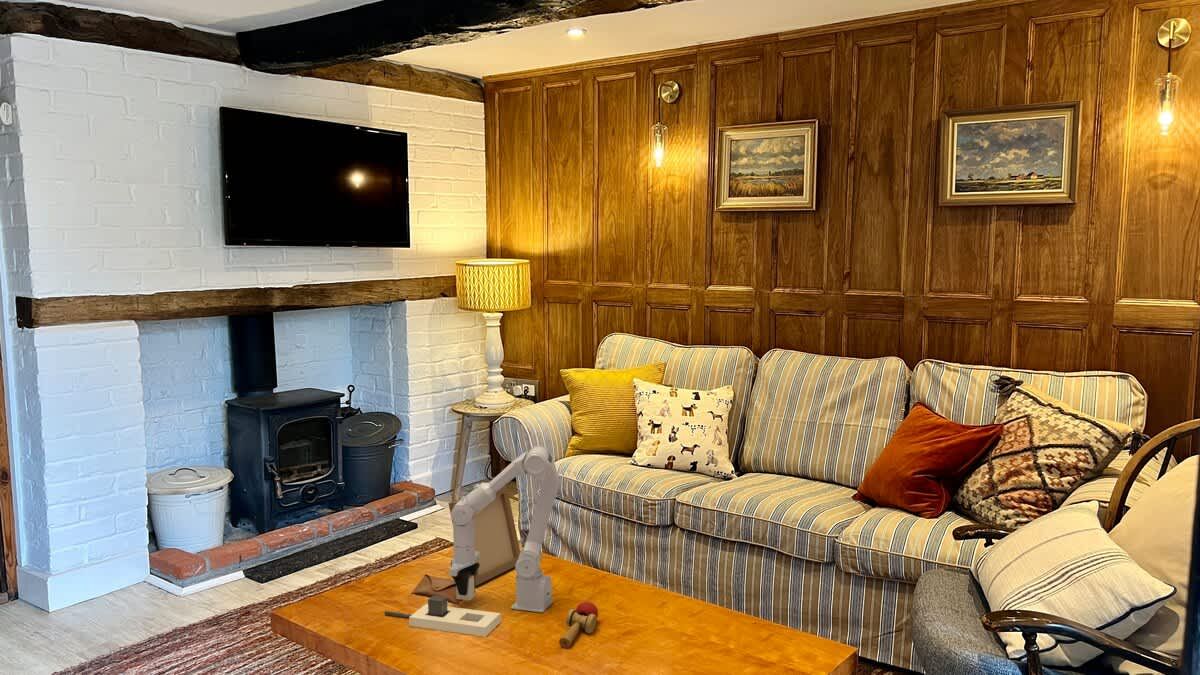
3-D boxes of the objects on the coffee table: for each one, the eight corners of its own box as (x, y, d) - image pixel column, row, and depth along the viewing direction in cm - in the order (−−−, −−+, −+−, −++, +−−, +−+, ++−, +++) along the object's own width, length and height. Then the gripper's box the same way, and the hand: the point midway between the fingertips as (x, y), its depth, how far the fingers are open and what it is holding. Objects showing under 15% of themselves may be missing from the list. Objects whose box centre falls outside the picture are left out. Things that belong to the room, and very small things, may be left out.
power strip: (500, 622, 232) (500, 598, 231) (485, 636, 223) (485, 612, 223) (394, 608, 242) (393, 585, 241) (376, 621, 233) (375, 597, 233)
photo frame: (522, 565, 273) (520, 487, 271) (476, 588, 255) (473, 504, 252) (486, 557, 281) (484, 480, 279) (438, 579, 263) (435, 497, 260)
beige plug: (474, 596, 244) (473, 575, 243) (469, 600, 241) (468, 579, 240) (461, 594, 245) (460, 573, 244) (456, 598, 242) (455, 577, 242)
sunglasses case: (406, 593, 252) (413, 570, 254) (420, 598, 257) (427, 575, 260) (458, 604, 244) (465, 580, 246) (471, 609, 249) (477, 585, 252)
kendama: (582, 656, 215) (607, 617, 232) (576, 632, 214) (601, 595, 231) (554, 656, 218) (580, 618, 235) (548, 633, 217) (575, 596, 234)
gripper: (463, 534, 250) (464, 581, 251) (438, 551, 236) (440, 600, 237) (485, 537, 247) (487, 583, 249) (461, 554, 234) (463, 603, 235)
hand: (465, 592), depth 243 cm, fingers closed on beige plug, 3 cm apart
